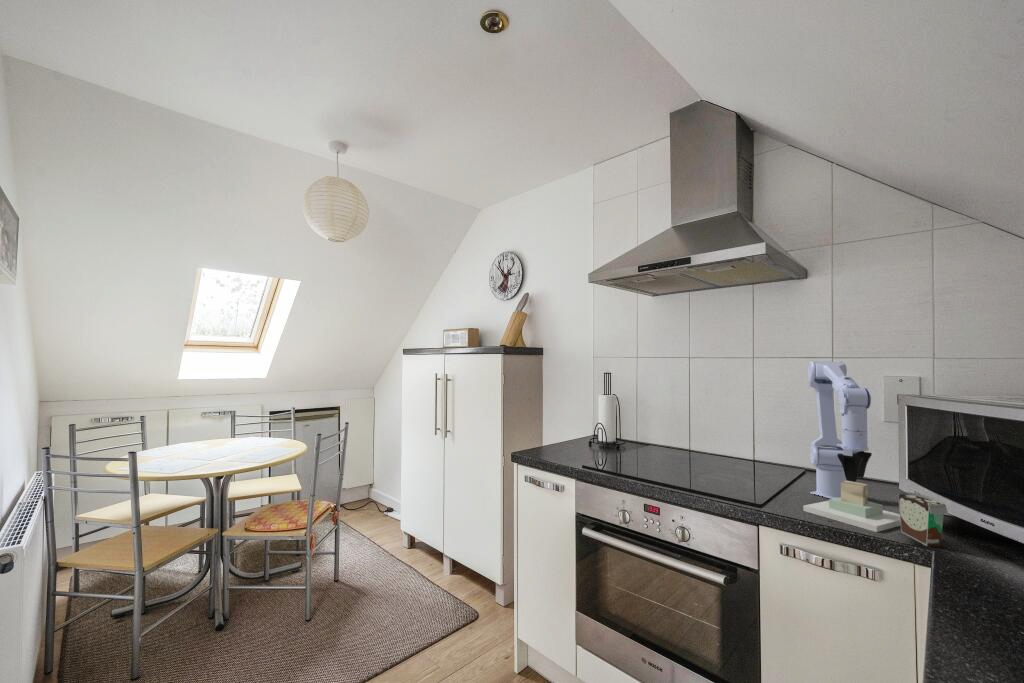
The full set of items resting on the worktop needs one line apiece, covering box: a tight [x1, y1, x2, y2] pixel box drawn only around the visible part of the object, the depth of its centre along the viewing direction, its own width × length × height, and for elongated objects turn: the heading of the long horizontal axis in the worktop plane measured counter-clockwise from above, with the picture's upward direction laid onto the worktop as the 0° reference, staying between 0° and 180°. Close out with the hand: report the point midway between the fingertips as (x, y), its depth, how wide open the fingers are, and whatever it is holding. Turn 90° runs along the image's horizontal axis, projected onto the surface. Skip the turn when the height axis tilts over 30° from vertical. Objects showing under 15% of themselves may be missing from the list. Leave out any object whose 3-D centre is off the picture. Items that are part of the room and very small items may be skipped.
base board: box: [802, 497, 901, 533], centre depth 126 cm, size 18×18×4 cm
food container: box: [896, 490, 948, 547], centre depth 110 cm, size 12×6×10 cm, turn 168°
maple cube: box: [841, 481, 869, 506], centre depth 126 cm, size 5×5×5 cm
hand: (855, 479), depth 126 cm, fingers open, 7 cm apart
